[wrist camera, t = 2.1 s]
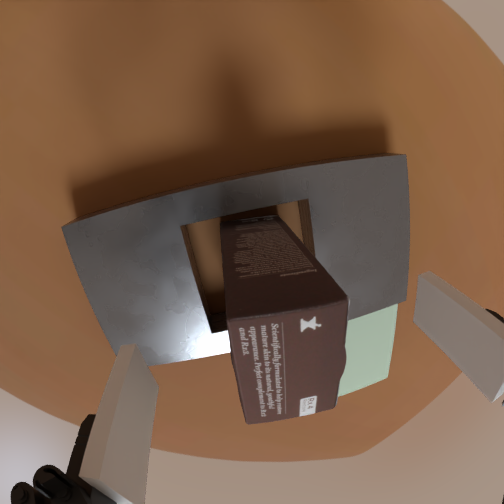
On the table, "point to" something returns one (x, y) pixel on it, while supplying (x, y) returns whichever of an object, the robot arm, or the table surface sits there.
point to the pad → (368, 349)
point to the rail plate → (225, 203)
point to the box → (281, 321)
